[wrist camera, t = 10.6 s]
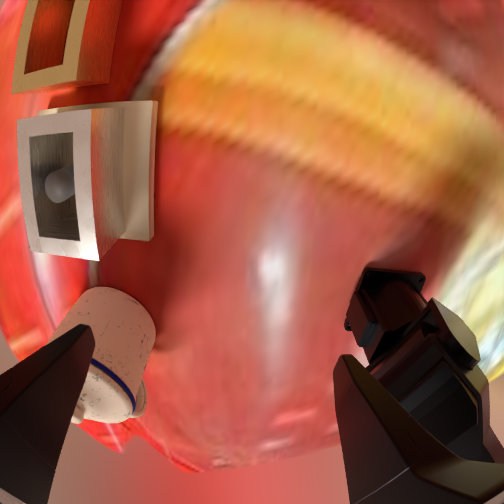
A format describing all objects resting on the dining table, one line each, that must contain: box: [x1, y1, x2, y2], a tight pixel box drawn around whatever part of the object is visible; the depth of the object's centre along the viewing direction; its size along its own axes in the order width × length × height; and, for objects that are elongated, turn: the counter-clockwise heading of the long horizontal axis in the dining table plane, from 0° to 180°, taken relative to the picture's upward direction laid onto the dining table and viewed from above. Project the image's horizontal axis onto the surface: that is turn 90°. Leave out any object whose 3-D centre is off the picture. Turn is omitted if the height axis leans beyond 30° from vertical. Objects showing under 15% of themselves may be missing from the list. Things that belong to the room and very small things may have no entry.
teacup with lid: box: [40, 287, 156, 424], centre depth 21 cm, size 12×9×12 cm
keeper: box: [38, 101, 158, 241], centre depth 17 cm, size 10×10×5 cm
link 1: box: [11, 0, 123, 95], centre depth 12 cm, size 9×6×4 cm, turn 173°
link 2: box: [17, 107, 125, 261], centre depth 16 cm, size 9×6×4 cm, turn 174°
